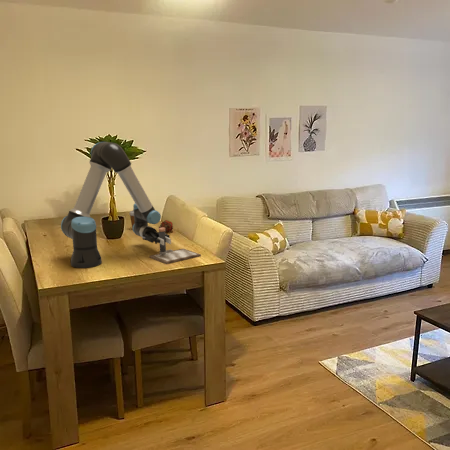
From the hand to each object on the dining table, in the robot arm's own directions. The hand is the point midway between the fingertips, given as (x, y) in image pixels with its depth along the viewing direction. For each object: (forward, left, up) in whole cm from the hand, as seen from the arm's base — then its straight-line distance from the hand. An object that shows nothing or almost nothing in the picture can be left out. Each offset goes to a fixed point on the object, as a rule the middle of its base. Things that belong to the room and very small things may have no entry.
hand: (166, 242), depth 243 cm
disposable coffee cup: (+26, +74, -10) cm, 79 cm away
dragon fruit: (+36, +54, -10) cm, 66 cm away
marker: (+1, +5, -8) cm, 9 cm away
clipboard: (+7, +2, -10) cm, 12 cm away
